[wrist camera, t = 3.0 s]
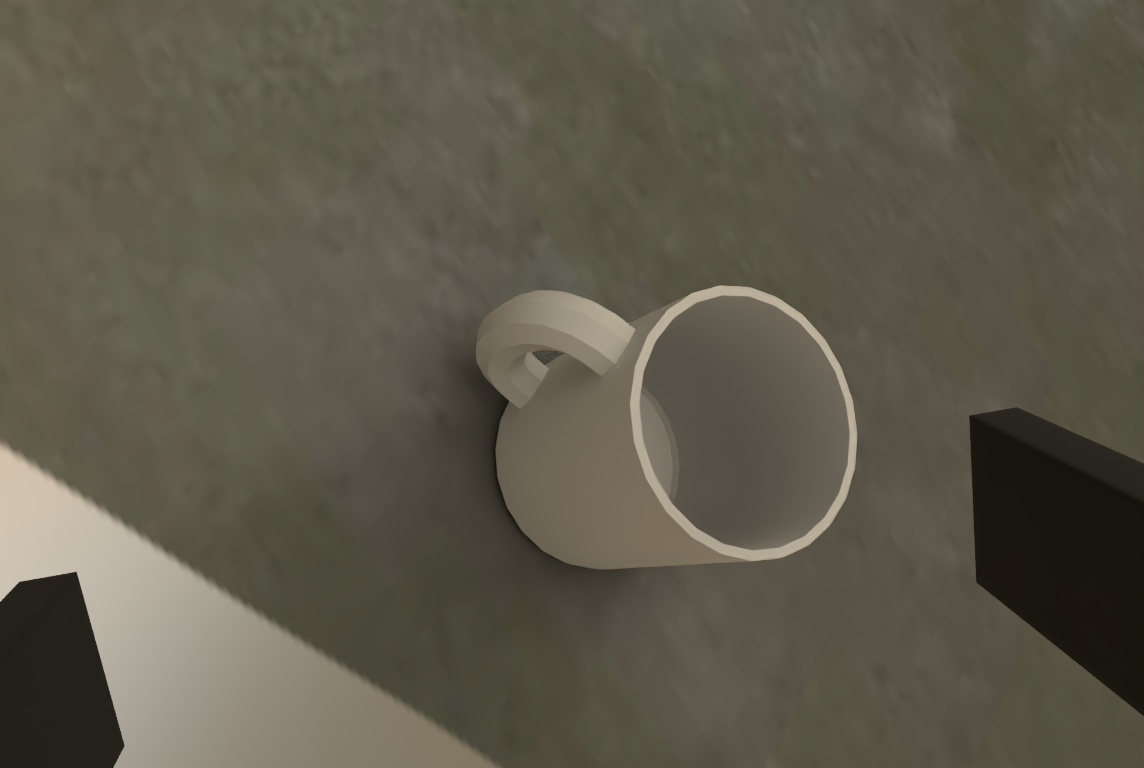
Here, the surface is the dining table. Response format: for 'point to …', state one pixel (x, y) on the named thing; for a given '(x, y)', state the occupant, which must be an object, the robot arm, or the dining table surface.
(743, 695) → the dining table surface
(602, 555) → the cup
